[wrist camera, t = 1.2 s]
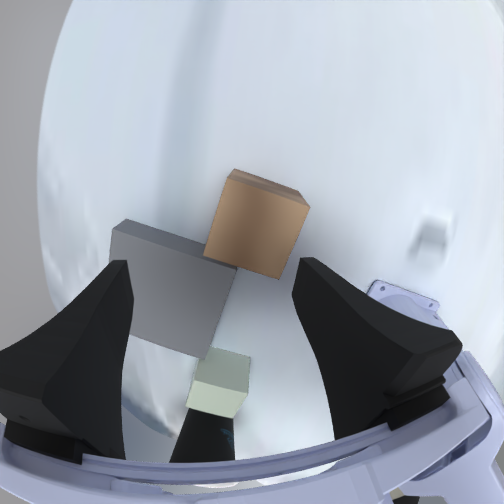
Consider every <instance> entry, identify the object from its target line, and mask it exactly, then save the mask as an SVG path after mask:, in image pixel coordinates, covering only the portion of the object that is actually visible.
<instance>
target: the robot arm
mask: <svg viewBox="0 0 504 504" xmlns="http://www.w3.org/2000/svg"><path fill="white" fill-rule="evenodd" d="M382 286H384V287H383V288H382V289H380V288H381V287H382ZM292 298H293V302H294V305H295V309H296V312H297V315H298V317H299V320H300V322H301V324H302V327H303V329H304V331H305V334H306V336H307V338H308V340H309V343H310V345H311V347H312V349H313V352H314V354H315V357H316V359H317V362H318V365H319V369H320V372H321V375H322V379H323V382H324V386H325V390H326V394H327V398H328V403H329V408H330V413H331V418H332V424H333V431H334V438H335V441H332V442H328V443H325V444H321V445H317V446H313V447H309V448H305V449H301V450H296V451H292V452H287V453H282V454H276V455H271V456H265V457H258V458H251V459H243V460H233V461H222V462H206V463H155V462H141V461H130V460H126V458H125V451H124V443H123V433H122V416H121V386H122V370H123V362H124V357H125V352H126V347H127V342H128V337H129V332H130V328H131V323H132V317H133V307H134V295H133V290H132V285H131V280H130V274H129V269H128V263H127V260H112V261H111V262H110V263H109V264H108V265H107V266H106V267H105V268H104V269H103V270H102V272H101V273H100V274H99V275H98V276H97V277H96V278H95V279H94V280H93V281H92V282H91V283H90V284H89V285H88V286H87V287H86V288H85V289H84V290H83V291H82V292H81V293H80V294H79V295H78V296H77V297H76V298H75V299H74V300H73V301H72V302H71V303H70V304H69V305H67V306H66V307H65V308H64V309H63V310H62V311H61V312H59V313H58V314H57V315H56V316H55V317H54V318H52V319H51V320H50V321H48V322H47V323H45V324H44V325H42V326H41V327H40V328H38V329H37V330H36V331H34V332H33V333H31V334H30V335H28V336H27V337H25V338H23V339H22V340H20V341H18V342H17V343H15V344H13V345H11V346H10V347H7V348H5V349H3V350H2V351H0V413H1V414H2V415H3V416H4V417H6V418H7V423H6V425H4V424H2V423H1V422H0V487H1V488H2V489H4V490H6V491H8V492H10V493H12V494H13V495H15V496H17V497H19V498H21V499H23V500H25V501H27V502H29V503H31V504H394V503H393V501H392V498H391V496H390V493H389V492H390V491H392V490H394V489H396V488H397V487H398V488H399V489H400V490H401V491H402V493H403V494H404V495H407V496H442V497H443V498H444V499H445V501H446V502H447V504H504V476H503V474H502V472H501V470H500V468H499V466H498V464H497V463H496V461H495V459H494V458H495V456H496V454H497V453H498V451H499V449H500V447H501V445H502V443H503V440H504V405H503V403H502V400H501V398H500V396H499V394H498V392H497V391H496V389H495V387H494V386H493V384H492V382H491V381H490V379H489V378H488V376H487V375H486V373H485V372H484V370H483V369H482V368H481V366H480V365H479V363H478V362H477V361H476V359H475V358H474V357H473V356H472V354H471V353H470V352H469V351H463V350H462V346H463V345H462V343H461V341H460V340H459V339H458V337H457V336H456V335H455V333H454V332H453V331H452V330H449V329H448V327H447V326H446V325H445V323H444V322H443V321H442V320H441V318H440V317H439V316H438V314H437V313H436V311H437V310H438V308H439V306H440V304H439V303H438V302H437V301H435V300H432V299H429V298H426V297H424V296H421V295H418V294H415V293H413V292H410V291H407V290H404V289H402V288H399V287H396V286H393V285H390V284H388V283H385V282H382V281H376V282H374V284H373V285H372V287H371V289H370V290H369V292H368V294H365V293H364V292H362V291H361V290H359V289H358V288H356V287H355V286H353V285H352V284H350V283H349V282H348V281H346V280H345V279H343V278H342V277H341V276H339V275H338V274H337V273H335V272H334V271H333V270H331V269H330V268H328V267H327V266H326V265H324V264H323V263H321V262H320V261H319V260H317V259H315V258H314V257H305V258H300V262H299V266H298V270H297V274H296V279H295V283H294V287H293V291H292ZM429 304H430V305H429ZM349 456H350V457H349ZM346 457H347V458H346ZM343 458H345V459H343ZM340 459H343V460H340ZM337 460H340V461H338V462H336V464H335V465H334V466H332V467H331V468H329V469H328V470H326V471H324V472H322V473H320V474H318V475H314V476H310V477H306V478H302V479H297V480H293V481H288V482H283V483H278V484H273V485H268V486H262V487H256V488H249V489H242V490H235V491H225V492H216V493H203V494H184V495H183V494H182V495H181V494H180V495H174V494H172V493H170V492H166V491H163V490H162V488H161V487H160V486H155V485H148V484H142V483H150V484H171V485H174V484H175V485H199V484H219V483H231V482H240V481H248V480H255V479H262V478H268V477H274V476H279V475H284V474H289V473H293V472H298V471H302V470H306V469H310V468H313V467H317V466H321V465H324V464H327V463H331V462H334V461H337ZM136 482H138V483H136Z"/></svg>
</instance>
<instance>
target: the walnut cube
mask: <svg viewBox="0 0 504 504" xmlns="http://www.w3.org/2000/svg"><path fill="white" fill-rule="evenodd" d="M309 209H310V206H309V205H308V204H307V202H306V201H305V199H304V198H303V197H302V195H301V194H300V193H299V191H297V190H294V189H291V188H289V187H286V186H283V185H281V184H278V183H275V182H272V181H270V180H267V179H264V178H261V177H258V176H255V175H252V174H249V173H246V172H243V171H240V170H237V169H234V170H233V171H232V172H231V174H230V175H229V176H228V177H227V179H226V183H225V186H224V189H223V192H222V195H221V198H220V201H219V204H218V207H217V210H216V214H215V217H214V220H213V223H212V227H211V230H210V233H209V236H208V240H207V243H206V246H205V250H204V253H203V256H206V257H209V258H212V259H216V260H219V261H222V262H225V263H228V264H231V265H234V266H237V267H240V268H243V269H247V270H250V271H253V272H256V273H259V274H262V275H266V276H269V277H272V278H275V279H278V280H279V278H280V276H281V274H282V272H283V269H284V267H285V265H286V263H287V260H288V258H289V256H290V253H291V251H292V249H293V247H294V244H295V242H296V240H297V237H298V235H299V233H300V230H301V228H302V226H303V223H304V221H305V218H306V216H307V214H308V211H309Z"/></svg>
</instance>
